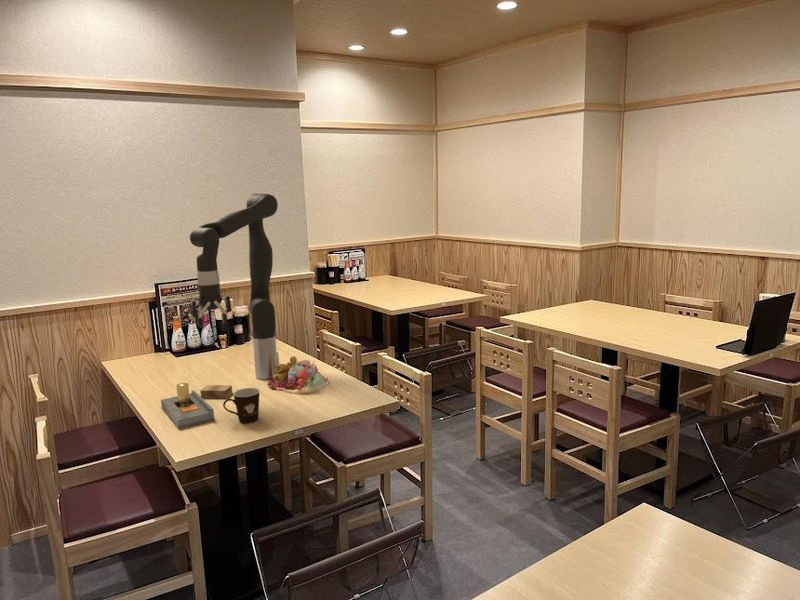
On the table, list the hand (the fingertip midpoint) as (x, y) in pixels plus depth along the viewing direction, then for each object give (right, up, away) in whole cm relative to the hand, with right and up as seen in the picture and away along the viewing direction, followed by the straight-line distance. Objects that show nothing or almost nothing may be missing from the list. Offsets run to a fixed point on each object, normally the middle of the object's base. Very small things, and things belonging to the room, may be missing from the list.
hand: (212, 325), depth 223 cm
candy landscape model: (+29, -24, +20) cm, 43 cm away
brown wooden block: (-1, -27, +8) cm, 28 cm away
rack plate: (-6, -31, -10) cm, 33 cm away
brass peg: (-8, -30, -7) cm, 32 cm away
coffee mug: (+16, -32, -17) cm, 40 cm away
